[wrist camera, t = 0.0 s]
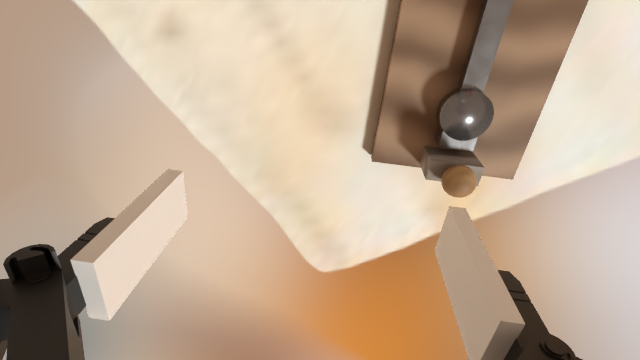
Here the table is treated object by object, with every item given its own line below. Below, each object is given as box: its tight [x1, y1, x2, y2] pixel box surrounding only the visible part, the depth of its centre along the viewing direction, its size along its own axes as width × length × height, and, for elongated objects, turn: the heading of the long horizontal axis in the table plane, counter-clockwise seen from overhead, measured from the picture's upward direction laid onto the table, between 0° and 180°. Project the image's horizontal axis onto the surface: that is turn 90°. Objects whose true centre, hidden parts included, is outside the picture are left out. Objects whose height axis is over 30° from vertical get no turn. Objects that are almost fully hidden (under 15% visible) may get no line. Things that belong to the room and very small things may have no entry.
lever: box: [435, 0, 514, 151], centre depth 34 cm, size 20×6×7 cm, turn 174°
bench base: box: [371, 0, 588, 197], centre depth 35 cm, size 26×18×10 cm
